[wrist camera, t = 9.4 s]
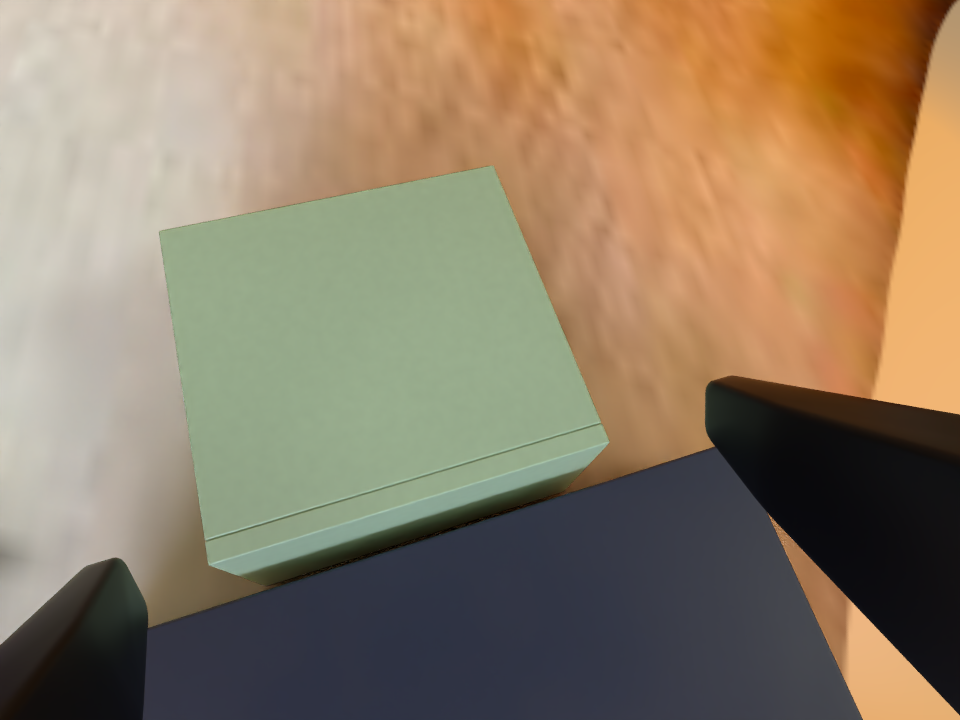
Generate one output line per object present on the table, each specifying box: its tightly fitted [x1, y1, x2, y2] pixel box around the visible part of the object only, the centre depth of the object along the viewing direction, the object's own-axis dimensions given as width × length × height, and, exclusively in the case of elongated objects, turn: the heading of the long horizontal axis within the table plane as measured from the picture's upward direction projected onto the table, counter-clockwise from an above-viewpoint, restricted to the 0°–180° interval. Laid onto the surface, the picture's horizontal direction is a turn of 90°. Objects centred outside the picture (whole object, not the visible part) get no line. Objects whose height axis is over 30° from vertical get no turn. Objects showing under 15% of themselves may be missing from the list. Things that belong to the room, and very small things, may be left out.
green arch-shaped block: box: [159, 165, 609, 586], centre depth 20 cm, size 6×11×10 cm
